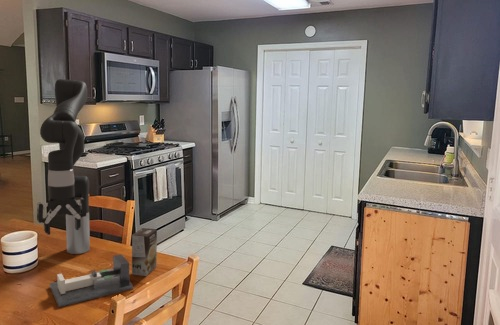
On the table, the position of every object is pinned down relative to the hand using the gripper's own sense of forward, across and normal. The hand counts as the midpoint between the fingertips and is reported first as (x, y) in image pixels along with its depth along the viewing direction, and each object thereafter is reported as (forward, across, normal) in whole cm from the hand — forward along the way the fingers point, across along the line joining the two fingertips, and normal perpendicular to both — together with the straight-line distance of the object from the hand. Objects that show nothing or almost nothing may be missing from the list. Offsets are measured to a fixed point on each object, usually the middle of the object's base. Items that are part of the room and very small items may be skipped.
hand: (62, 231), depth 125 cm
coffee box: (+23, -30, -6) cm, 39 cm away
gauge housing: (+23, -9, -2) cm, 25 cm away
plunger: (+21, -6, -3) cm, 22 cm away
